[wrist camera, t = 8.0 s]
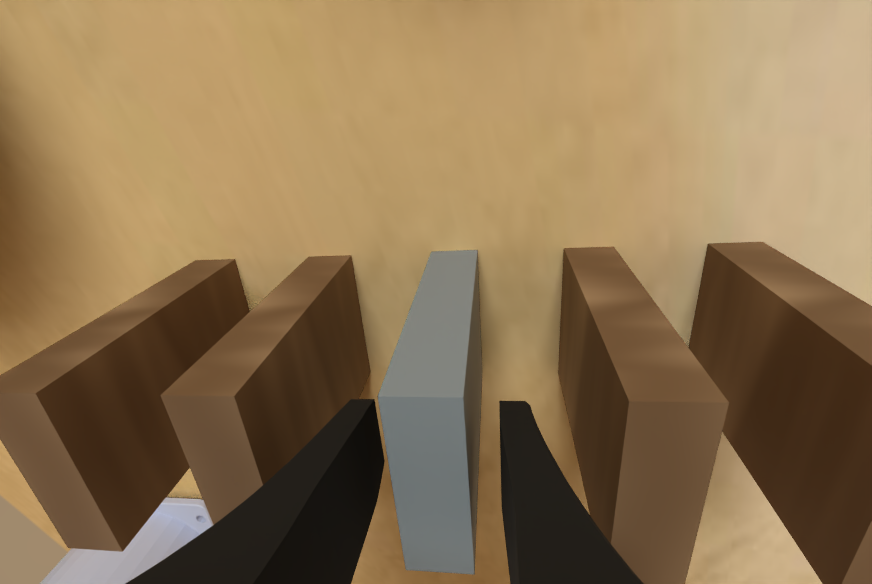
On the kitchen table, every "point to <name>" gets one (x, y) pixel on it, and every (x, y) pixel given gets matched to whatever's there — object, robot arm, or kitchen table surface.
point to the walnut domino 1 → (115, 405)
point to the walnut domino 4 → (795, 396)
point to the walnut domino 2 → (271, 383)
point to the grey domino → (437, 417)
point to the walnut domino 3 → (636, 415)
